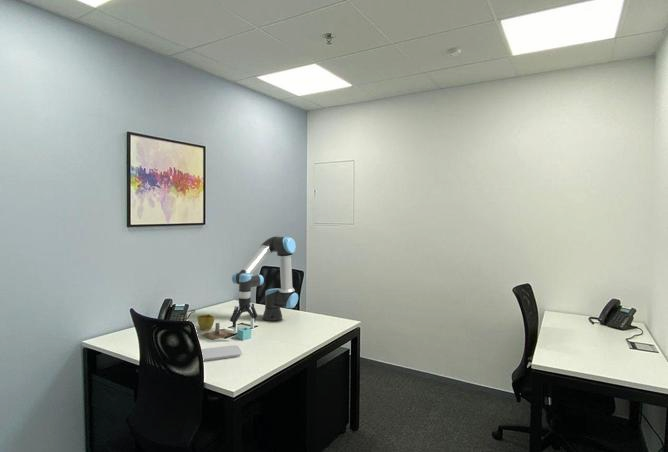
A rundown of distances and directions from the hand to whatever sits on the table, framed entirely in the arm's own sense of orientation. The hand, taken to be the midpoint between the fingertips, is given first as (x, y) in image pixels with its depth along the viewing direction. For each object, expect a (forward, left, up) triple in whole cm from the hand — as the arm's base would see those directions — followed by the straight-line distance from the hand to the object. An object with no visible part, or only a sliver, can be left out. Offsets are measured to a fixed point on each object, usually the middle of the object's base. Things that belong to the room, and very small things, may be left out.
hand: (243, 330), depth 248 cm
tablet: (+29, +13, -6) cm, 32 cm away
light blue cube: (0, 0, -5) cm, 5 cm away
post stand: (+8, -18, -5) cm, 20 cm away
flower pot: (+6, -35, -6) cm, 36 cm away
